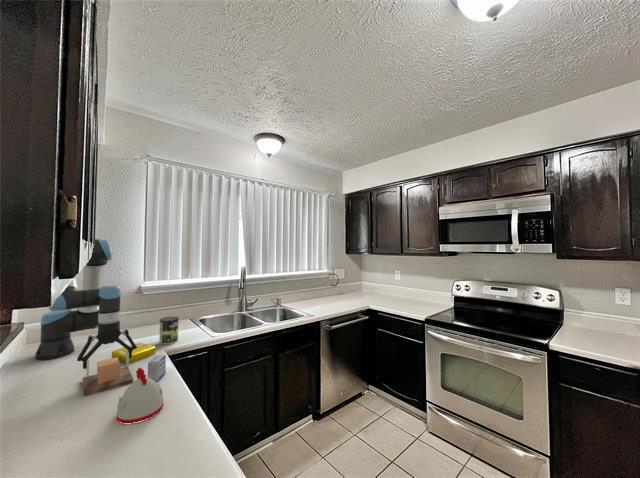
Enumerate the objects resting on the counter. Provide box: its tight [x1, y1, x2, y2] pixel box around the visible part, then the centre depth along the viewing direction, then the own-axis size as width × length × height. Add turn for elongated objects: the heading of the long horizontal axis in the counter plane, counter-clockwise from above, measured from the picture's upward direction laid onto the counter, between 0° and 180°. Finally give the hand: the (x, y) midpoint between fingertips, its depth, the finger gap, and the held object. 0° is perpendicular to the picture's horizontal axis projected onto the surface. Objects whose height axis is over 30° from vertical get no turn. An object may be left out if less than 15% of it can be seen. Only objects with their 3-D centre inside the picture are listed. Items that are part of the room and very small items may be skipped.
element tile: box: [111, 342, 156, 365], centre depth 143 cm, size 15×15×5 cm
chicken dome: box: [116, 367, 164, 423], centre depth 96 cm, size 14×14×15 cm
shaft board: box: [82, 366, 134, 397], centre depth 116 cm, size 16×16×6 cm
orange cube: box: [96, 357, 120, 384], centre depth 117 cm, size 7×7×7 cm
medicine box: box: [147, 354, 167, 383], centre depth 120 cm, size 8×4×9 cm, turn 9°
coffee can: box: [159, 316, 180, 345], centre depth 165 cm, size 10×10×14 cm
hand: (108, 370), depth 116 cm, fingers open, 13 cm apart
